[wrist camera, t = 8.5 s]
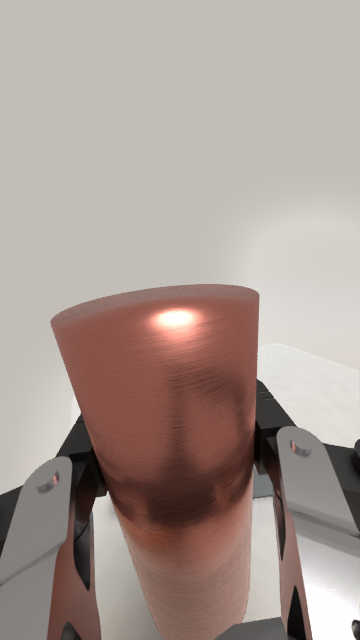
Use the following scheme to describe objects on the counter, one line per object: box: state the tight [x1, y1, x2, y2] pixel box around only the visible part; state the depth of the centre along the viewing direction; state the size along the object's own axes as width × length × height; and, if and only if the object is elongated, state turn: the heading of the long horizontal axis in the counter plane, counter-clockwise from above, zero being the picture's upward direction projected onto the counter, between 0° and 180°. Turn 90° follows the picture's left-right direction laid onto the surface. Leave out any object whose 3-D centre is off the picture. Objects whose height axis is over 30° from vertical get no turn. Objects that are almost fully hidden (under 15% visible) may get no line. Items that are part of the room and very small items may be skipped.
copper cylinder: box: [51, 284, 259, 640], centre depth 8 cm, size 6×6×14 cm
